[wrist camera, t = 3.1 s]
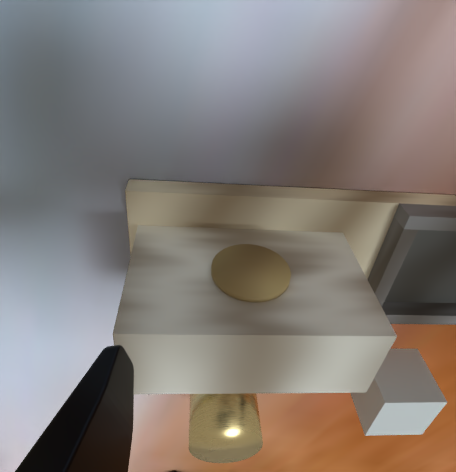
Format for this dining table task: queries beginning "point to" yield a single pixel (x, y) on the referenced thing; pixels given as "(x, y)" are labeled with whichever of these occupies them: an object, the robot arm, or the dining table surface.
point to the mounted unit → (278, 284)
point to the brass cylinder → (224, 427)
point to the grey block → (400, 396)
